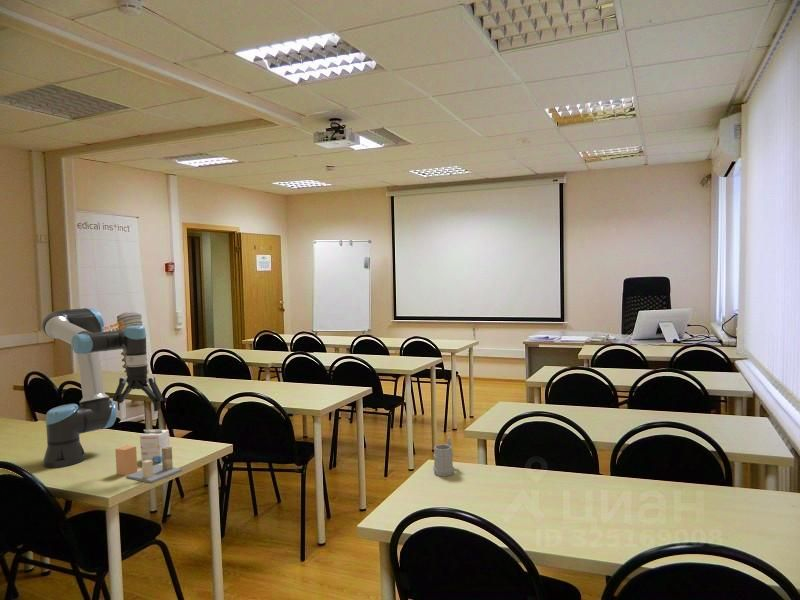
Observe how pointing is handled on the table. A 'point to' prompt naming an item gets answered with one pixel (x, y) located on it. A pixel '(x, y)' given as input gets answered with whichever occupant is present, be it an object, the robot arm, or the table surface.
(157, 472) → the post board
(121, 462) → the peach carton
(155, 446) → the ink box
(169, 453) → the beech post
